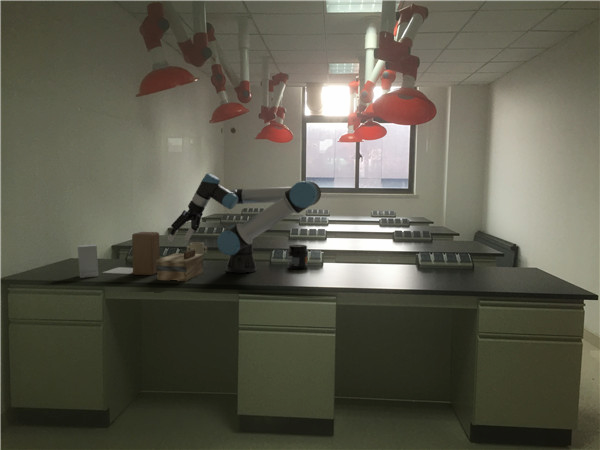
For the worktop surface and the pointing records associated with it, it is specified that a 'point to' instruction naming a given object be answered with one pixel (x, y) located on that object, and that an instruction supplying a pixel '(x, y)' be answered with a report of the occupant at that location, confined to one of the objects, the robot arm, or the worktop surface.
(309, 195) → the robot arm
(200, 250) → the character mug
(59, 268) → the worktop surface
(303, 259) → the supplement container
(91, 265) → the skincare box
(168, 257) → the lid
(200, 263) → the toolbox
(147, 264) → the wooden block
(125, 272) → the mat
